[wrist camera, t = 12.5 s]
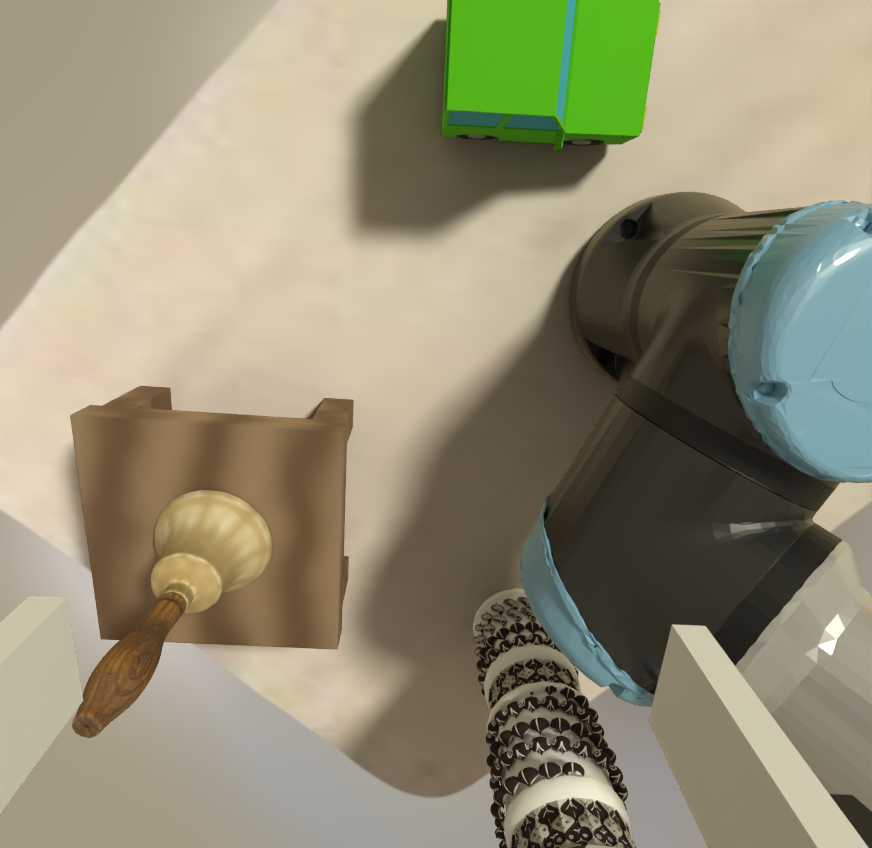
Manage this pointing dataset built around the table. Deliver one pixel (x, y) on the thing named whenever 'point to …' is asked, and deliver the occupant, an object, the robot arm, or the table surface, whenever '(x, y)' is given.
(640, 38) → the toy car
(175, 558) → the hand bell
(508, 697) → the decorative candle
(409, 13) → the table surface
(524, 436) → the table surface
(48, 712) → the robot arm
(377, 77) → the table surface
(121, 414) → the walnut stool
